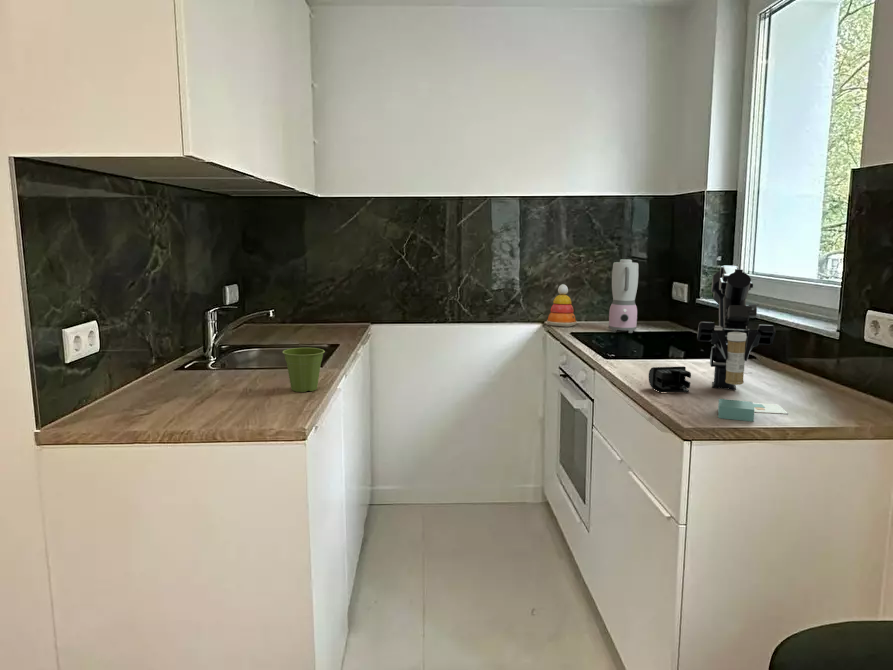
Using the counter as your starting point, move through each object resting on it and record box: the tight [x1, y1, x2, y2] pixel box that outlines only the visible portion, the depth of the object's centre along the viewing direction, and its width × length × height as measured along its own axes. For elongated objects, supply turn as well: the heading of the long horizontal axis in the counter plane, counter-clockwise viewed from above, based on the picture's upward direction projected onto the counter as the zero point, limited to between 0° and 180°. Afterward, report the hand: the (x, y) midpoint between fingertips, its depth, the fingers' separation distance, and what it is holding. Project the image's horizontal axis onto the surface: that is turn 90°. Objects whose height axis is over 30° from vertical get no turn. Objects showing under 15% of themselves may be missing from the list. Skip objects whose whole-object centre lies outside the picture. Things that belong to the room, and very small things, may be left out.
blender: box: [608, 258, 639, 334], centre depth 302 cm, size 16×12×32 cm
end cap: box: [648, 366, 692, 393], centre depth 197 cm, size 10×7×7 cm
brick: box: [717, 398, 755, 422], centre depth 171 cm, size 8×8×3 cm
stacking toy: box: [546, 283, 578, 328], centre depth 319 cm, size 14×14×20 cm
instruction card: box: [753, 402, 789, 415], centre depth 178 cm, size 9×12×1 cm
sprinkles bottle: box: [725, 332, 747, 386], centre depth 177 cm, size 5×5×14 cm
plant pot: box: [282, 347, 326, 393], centre depth 193 cm, size 12×12×11 cm
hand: (736, 359), depth 176 cm, fingers closed on sprinkles bottle, 4 cm apart
